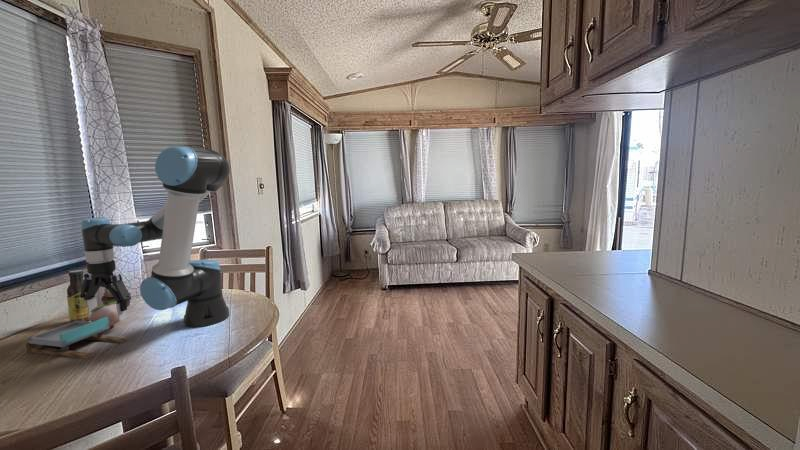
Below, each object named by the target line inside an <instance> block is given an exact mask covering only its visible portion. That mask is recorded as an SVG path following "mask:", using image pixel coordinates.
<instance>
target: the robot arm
mask: <svg viewBox="0 0 800 450" xmlns="http://www.w3.org/2000/svg"><path fill="white" fill-rule="evenodd" d="M229 163H230V162H228V159H227V158H226V157H225V156H223V154H222V153H220V152H218V151H216V150H212V149H205V148H204V149H203V148H196V147H189V146H185V145H184V146H175V145H173V146H170V147H167V148H165V149H164V150H162V151H160V153H159V154H158V156H157V158H156V160H155V164H154V172H155V174H157V175H156V177H157V178H158V180H159V181H160V182H161V183H162V188H163V189H164V190H165V191H166V192H167V196H166V203H165V204H164V205H162V207H161V208H160V209H158V210H157V211H156V212H155V213H154V214H153V215H152V216H151V217H150V218H149V219H148V220H143V221H137V222H135V221H134V222H129V223H120V224H119V223H118V224H115V223H114V224H113V223H111V219H110V218H108V217H91V218H84V219H82V220H81V234H82V235H81V236H82V240H83V241H82V242H83V247H84V256H85V262H86V270H87V273H83V279H84V283H83V287H82V290H81V294H80V297H81V298H84V299H85V300H86V305H87V310H88V317H89V318H90V315H91V313H92V312H91V311H92V310H93V309H94V308H95V307H97V306H98V302H97V301H98V300H97V298H96V295H97V292H98V291H99V289H100V288H101V287H102V288H104V289H105V288H106V289H108V290H109V291H110V293H111V294H112V295H113V297H114V298H115V299H116V300H117V303H116V308H117V316H118V321H119V322H121V321H123V320H126V319H128V312H127V310H128V307H127V304H126V301H127V300H130V301H131V300H132V297H131V296H132V295H131V296H130V294H131V293H130V292H129V290H128V289H127V287H126V284H125V283H124V281H123V277H122V275H121V274H114V272H115V271H116V261H115V260H114V259H115V254H114V253H115V252H114V247H122V248H125V247H126V248H127V247H134V246H136V245H138V244H139V243H144V242H150V241H155V240H161V242H160V249H159V257H158V262H157V263H155V264H154V265H152V268H151V272H150V273H151V274H150V276H147V277H146V278H145V279H144V280H142V281H141V283H140V285H139V291H140V296H141V297H142V300H143V301H144V302H145V303H146V305H147V306H149V307H150V308H151V309H154V310H156V311H166V310H168V309H172V308H174V307H176V306H178V305H181V304H183V303H185V302H187V305H186V308H185V312H184V313H185V314H184V315H183V323H184V325H185V326H187V327H189V328H190V327H191V328H198V327H206V326H211V325H214V324H218V323H220V322H222V321H224V320H226V319H228V318H229V316H230V309H229V307H228V306H227V303H226V301H225V299H224V295H223V286H222V285H223V283H222V273H221V272H222V271H221V267H220V266H221V265H220V262H219V261H218V260H216V259H193V260H191V258H192V257H191V255H192V250H193V244H194V236H195V232H196V231H195V230H196V225H197V224H196V223H197V216H198V210H199V205H200V203H201V202H202V201H203V200H204V199H205V198H207V196H208V195H209V194H210V193H216V192H218V190H219V189H220V188H221V187H223V185H225V184H226V182H227V181H228V179H229V176H230V175H231V174H230V173H231V168H230V167H231V166H230V164H229ZM127 290H128V291H127ZM128 292H129V293H130V294H129V293H128ZM120 298H121V299H120ZM90 312H91V313H90Z"/></svg>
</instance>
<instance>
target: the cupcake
mask: <svg viewBox="0 0 800 450" xmlns="http://www.w3.org/2000/svg"><path fill="white" fill-rule="evenodd" d="M103 290H104V292H103V296H102V297H101V298H100V299H101V300H100V301H101V302H102V305H106V303H105V302H107V304H108V303H111V302H117V300H116V299H115V298H114V297H113V295H112V294H111V293H110V291H109V290H108V289H106V288H105V287H104V288H103ZM127 291H128V293H129V294H130V296H132V294H131V293H130V292H129V290H128V289H127ZM120 299H121V298H120ZM130 303H131V299H130V300H127V301H126V304H127V308H128V307H130V306H131V305H130Z"/></svg>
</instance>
